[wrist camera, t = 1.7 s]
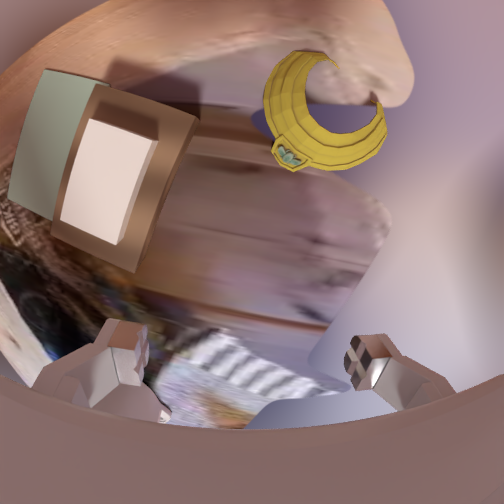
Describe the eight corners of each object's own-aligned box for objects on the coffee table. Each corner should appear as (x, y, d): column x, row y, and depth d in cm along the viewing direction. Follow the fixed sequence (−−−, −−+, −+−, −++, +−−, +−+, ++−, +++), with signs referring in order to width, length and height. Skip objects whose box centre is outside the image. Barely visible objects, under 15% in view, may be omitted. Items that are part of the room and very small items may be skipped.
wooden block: (144, 257, 28) (134, 273, 24) (68, 223, 26) (50, 234, 22) (200, 120, 24) (195, 116, 20) (112, 90, 21) (95, 83, 17)
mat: (64, 225, 26) (62, 226, 25) (8, 197, 23) (7, 198, 23) (110, 84, 21) (109, 84, 21) (45, 69, 18) (44, 69, 18)
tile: (123, 237, 23) (115, 245, 21) (70, 213, 21) (60, 219, 20) (158, 141, 20) (152, 140, 18) (99, 119, 19) (89, 118, 17)
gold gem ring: (270, 174, 27) (278, 179, 23) (254, 53, 22) (260, 38, 18) (383, 165, 27) (404, 170, 23) (370, 57, 22) (390, 48, 18)
